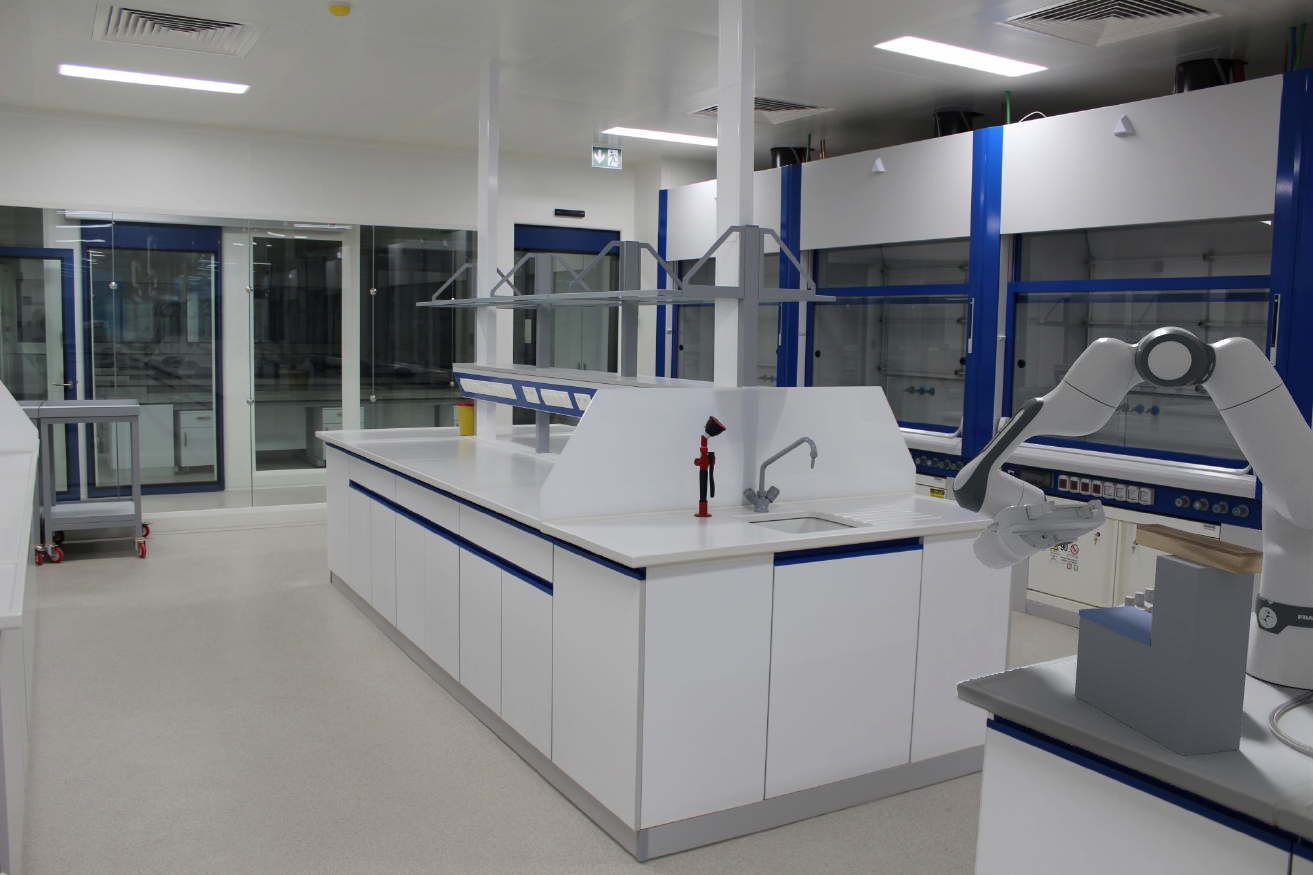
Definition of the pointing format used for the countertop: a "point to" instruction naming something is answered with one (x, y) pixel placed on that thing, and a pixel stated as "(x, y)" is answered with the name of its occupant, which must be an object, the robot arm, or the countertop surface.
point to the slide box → (1200, 548)
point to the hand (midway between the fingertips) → (1075, 504)
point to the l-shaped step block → (1173, 658)
